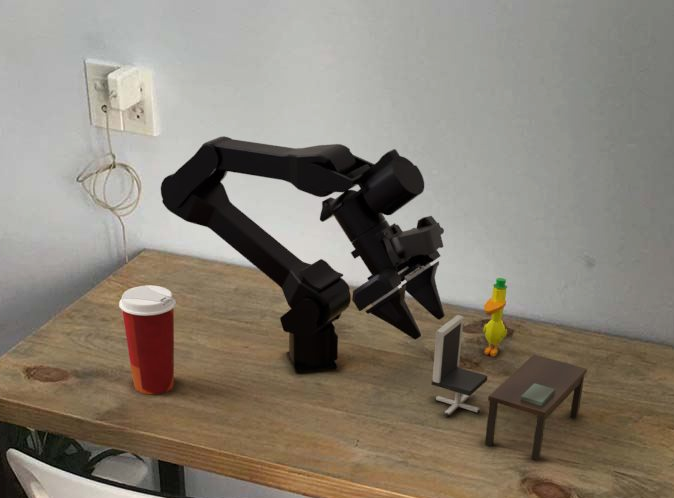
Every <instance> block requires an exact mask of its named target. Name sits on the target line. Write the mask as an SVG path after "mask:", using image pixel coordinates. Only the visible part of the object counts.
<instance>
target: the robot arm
mask: <svg viewBox="0 0 674 498" xmlns="http://www.w3.org/2000/svg"><path fill="white" fill-rule="evenodd" d="M228 172H230V173H235V174H236V173H237V174H243V175H247V176H254V177H261V178H267V179H268V178H269V179H272V180H273V179H274V180H280V181H284V182H286V183H290V184H291V185H292V186H293V187H295V188H296V189H297V190H298V191H301V192H304V193H307V194H309V195H312V196H315V197H317V198H325V199H324V200H322V202H321V210H320V215H319V220H320V222H322V223H323V222H325V221H328V220H329V219H331V218H334V219H335V221H336V222H337V223H338V225H339V226H340V228H341V230H342V231H343V233H344V234H345V236H346V237H347V239H348V240H349V242H350V243H351V244H352V247H353V248H354V249H353V250H352V251H351V252H350V254H351V256H352V257H353V259H354V260H355V259H357V258H359V257H360V259H361V261H362V262H363V264H364V265H365V267H366V268H367V270H368V271H369V273H370V276H367V278H366V280H367V281H365V282H364V283H362V284H361V285H359V286H358V287H357V288H355V289H354V290H352V295H351V292H350V286H349V284H348V283H347V282H346V280H345V279H344V278H342V277H344V273H342V272H339V271H337V270H336V269H334V268H333V267H332V266H331V265H330V264H329V263H328V262H327V261H326V260H325V259H323V258H320V259H318V260H316V261H315V262H313V263H308V262H305V261H303V260H301V259H300V258H299V257H298V256H297V255H295V254H294V253H293V252H292V251H290V250H289V249H288V248H287V247H285V246H284V245H283V244H282V243H280V242H279V241H278V240H277V239H276V238H275V237H274V236H272V234H270V233H268V232H267V231H266V229H263V227H261V226H260V225H258V224H257V223H256V221H254V220H253V219H252V218H250V217H249V216H248V215H246V214H245V213H244V212H243V211H241V210H240V209H239V208H238V207H237V206H236V205H234V204H233V203H232V202H231V201H230V199H229V195H228V193H227V190H226V188H225V186H224V184H223V183H222V181H223V180H224V179H225V178H226V176H227V174H228ZM357 186H358V187H359V188H360V189H358V190H354V189H353V188H354V187H357ZM424 190H425V180H424V176H423V174H422V172H421V170H420V169H419V167H418V165H416V164H414V163H413V162H412V160H409V159H408V158H407V157H405V156H403V155H402V156H401V155H400V154H399V152H398V151H397V149H395V148H393V149H391V150H389V151H387V152H385V153H384V154H383V155H382V156H381V157H380V158H379V160H377V162H375V163H372V162H371V161H369V160H366V159H364V158H362V157H359V156H357V155H354V154H353V153H352V151H351V149H350V148H349V147H348V146H346V145H344V144H341V143H334V144H332V143H331V144H319V145H313V146H306V147H298V148H297V147H295V148H293V147H287V146H281V145H273V144H268V143H261V142H253V141H248V140H247V141H246V140H239V139H235V138H234V139H232V138H231V137H228V136H225V135H224V136H219V137H216V138H214V139H211V140H207V141H205V142H203V144H202V145H201V147H200V148H198V150H197V151H196V152H195V154H194V155H192V156H191V157H190V158H189V159H188V160H187V161H186V162H185V163H184V164H183V165H182V166H180V167H179V168H178V169H177V170H176V171H175V172H174V173H172V174H169V175H167V176H165V177H164V178H163V179H162V181H161V184H160V196H161V199H162V201H161V202H162V204H163V206H164V207H165V208H166V209H167V210H168V211H169V213H172V214H174V215H175V216H176V217H178V218H180V219H182V220H184V221H185V222H187V223H191V224H195V225H197V226H202V227H206V228H208V229H210V230H211V231H212V232H213V233H215V234H216V235H217V236H218V237H219V238H221V239H222V240H223V241H224V242H225V243H227V245H229V246H230V247H231V248H233V249H234V250H235V251H236V252H238V254H240V255H241V256H242V257H243V258H245V259H246V260H247V261H248V262H249V263H251V264H252V265H253V266H255V268H257V269H258V270H259V271H261V273H263V274H264V275H265V276H266V277H268V278H269V279H270V280H272V282H274V283H275V284H276V285H278V287H279V288H280V289H281V290H282V293H283V296H284V298H285V301H286V303H287V305H288V307H289V308H290V309H289V310H287V311H286V312H285V313H284V314H282V316H280V318H279V320H280V324H281V327H282V330H283V332H285V333H288V351H286V353H285V356H286V358H287V360H288V361H289V363H290V365H291V368H292V369H293V372H294V373H296V374H302V373H303V374H304V373H313V372H314V373H315V372H321V371H323V372H324V371H331V370H332V371H333V370H337V369H338V364H337V362H336V361H337V360H338V357H339V356H338V355H339V354H338V353H339V349H338V346H339V335H338V334H337V332H336V329H335V328H336V326H335V325H334V322H335V321H336V320H337V321H338V320H339V319H340V318H341V315H342V313H343V312H345V311H347V310H348V308H349V307H350V305H351V301H352V302H353V304H354V306H355V307H356V309H357V310H358V311H359V312H362V311H363V310H364V309H366V308H367V309H366V310H365V313H366V314H367V315H369V314H371V315H372V316H374V317H376V318H378V319H380V320H382V321H384V322H385V323H387V324H389V325H391V326H392V327H394V328H395V329H397V330H399V331H400V332H401V333H403V334H405V335H406V336H408V337H410V338H411V339H413V340H418V339H419V338H421V337H422V333H421V330H420V328H419V326H418V324H417V322H416V320H415V317H414V315H413V314H412V312H411V310H410V308H409V306H408V304H407V301H406V299H405V298H406V293H408V295H410V296H411V297H412V298H413V299H414V300H415V301H416V302H418V304H420V306H421V307H422V308H424V309H425V310H426V311H427V312H428V313H429V314H430V315H431V316H433V317H434V318H435V319H437V320H439V321H440V320H442V319H443V318H444V317H445V315H446V313H445V311H444V308H443V304H442V301H441V297H440V294H439V291H438V286H437V282H436V274H437V270H438V266H440V261H439V260H438V259H439V258H440V257H441V254H440V253H439V251H438V249H442V248H444V243H443V238H442V235H443V234H444V232H445V229H444V228H443V227H441V224H440V222H437V220H436V219H435V218H434V217H433V216H432V215H428V216H424V217H421V218H420V219H418V220H417V224H416V227H413V228H410V229H408V230H404V231H403V230H402V228H401V226H400V225H398V224H397V223H395V222H394V223H393V224H391V225H390V223H389V222H388V220H387V219H386V217H385V216H392V215H393V214H395V213H396V212H398V211H399V210H400V209H402V208H403V207H404V206H406V205H407V204H409V203H410V202H412V200H414V199H416V198H417V197H419V196H420V195H421V194H423V192H424ZM335 193H341V194H339V195H338V196H337V197H336V198H334V197H328V196H330V195H332V194H335ZM326 197H328V198H326ZM436 260H438V261H436ZM434 261H436V262H435V263H433V262H434ZM431 263H433V264H431ZM404 281H406V282H405V283H403V282H404ZM402 283H403V284H402ZM400 285H401V287H399V286H400ZM369 306H370V307H369ZM368 307H369V308H368Z"/></svg>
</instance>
